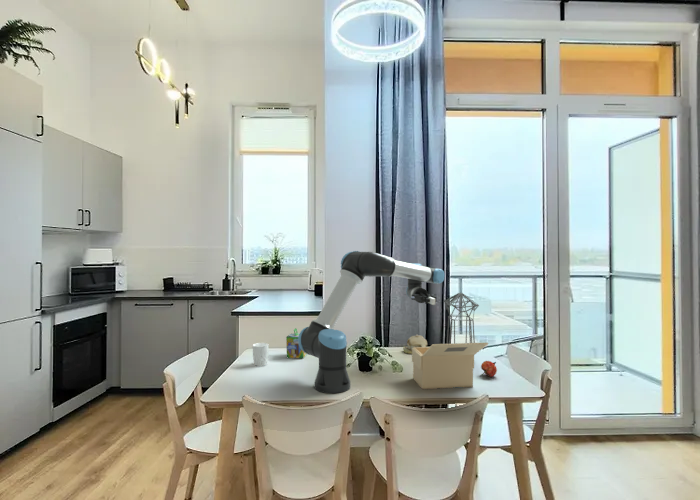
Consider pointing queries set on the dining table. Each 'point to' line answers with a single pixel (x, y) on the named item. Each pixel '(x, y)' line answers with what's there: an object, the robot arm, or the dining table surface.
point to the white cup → (260, 353)
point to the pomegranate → (489, 368)
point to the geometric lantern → (459, 313)
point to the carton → (442, 370)
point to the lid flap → (454, 349)
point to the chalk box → (294, 346)
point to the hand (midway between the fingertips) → (433, 301)
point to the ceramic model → (414, 343)
